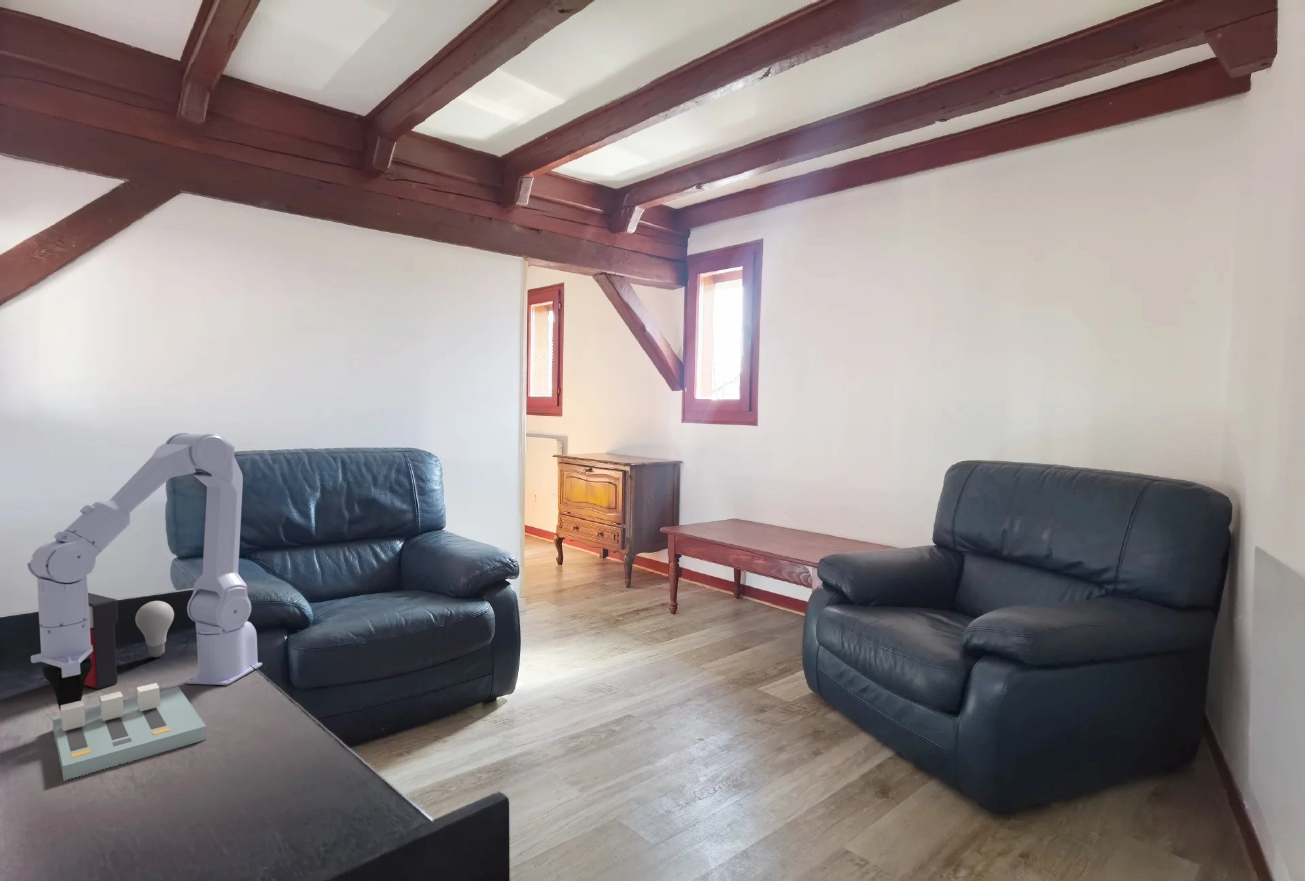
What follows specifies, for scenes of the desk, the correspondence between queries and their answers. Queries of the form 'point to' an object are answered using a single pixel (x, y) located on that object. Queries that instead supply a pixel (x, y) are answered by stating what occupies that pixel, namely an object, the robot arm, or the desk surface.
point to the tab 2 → (111, 706)
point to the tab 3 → (148, 697)
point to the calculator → (102, 641)
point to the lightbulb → (155, 625)
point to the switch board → (127, 734)
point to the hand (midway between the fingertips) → (69, 710)
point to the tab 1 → (72, 715)
